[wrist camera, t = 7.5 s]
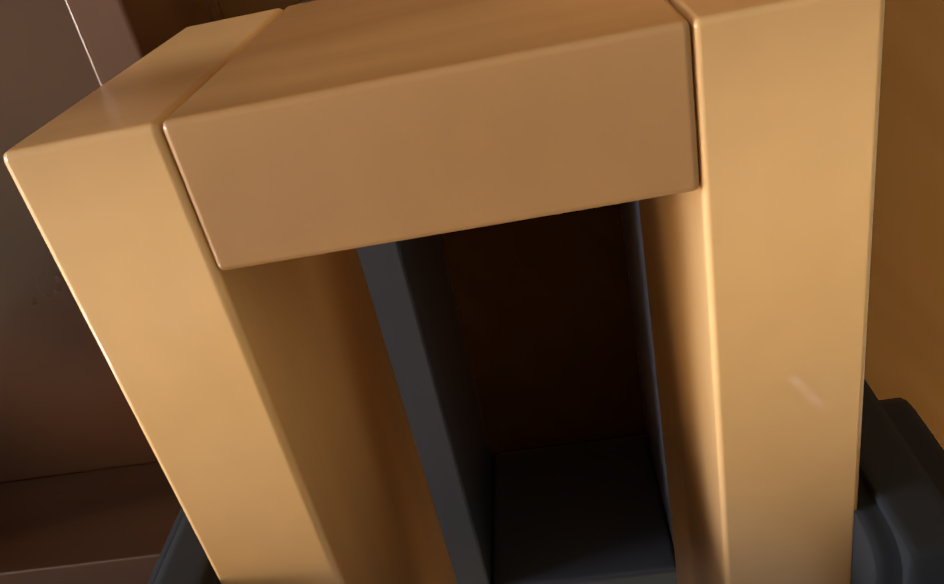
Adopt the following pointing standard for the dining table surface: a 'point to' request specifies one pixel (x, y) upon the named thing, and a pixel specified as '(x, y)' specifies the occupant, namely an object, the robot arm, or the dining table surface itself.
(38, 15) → the holder
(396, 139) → the frame top
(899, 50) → the dining table surface
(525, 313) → the dining table surface
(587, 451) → the frame low
